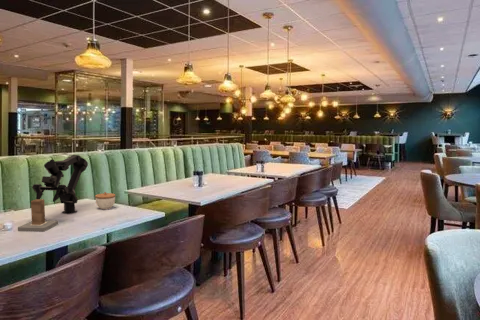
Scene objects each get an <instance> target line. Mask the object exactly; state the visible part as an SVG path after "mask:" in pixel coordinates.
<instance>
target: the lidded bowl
mask: <svg viewBox="0 0 480 320" xmlns="http://www.w3.org/2000/svg"><path fill="white" fill-rule="evenodd" d="M94 197H95V203H96V207H98V208H99V209H100V210H110V209H112V207H114V205H115V203H116V202H115V201H116V194H115V193H107V192H106V191H104V193H98V194H96V195H95V196H94Z"/></svg>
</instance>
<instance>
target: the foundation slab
mask: <svg viewBox="0 0 480 320" xmlns="http://www.w3.org/2000/svg"><path fill="white" fill-rule="evenodd" d="M57 225H59V220H46V219H45V223H43V224H41V225H32V220H30V221H28V222H26V223H24V224H22V225H20V226H18V227H17V232H39V233H41V232H46V231H48V230H50V229H52V228H54V227H56V226H57Z"/></svg>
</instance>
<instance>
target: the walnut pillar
mask: <svg viewBox="0 0 480 320" xmlns="http://www.w3.org/2000/svg"><path fill="white" fill-rule="evenodd" d="M30 207H31V208H30V210H31V221H32V225H41V224H43V223H45V220H46V212H45V211H46V210H45V208H46V207H45V199H43V198H42V199H41V198H40V199H34V200H31V201H30Z"/></svg>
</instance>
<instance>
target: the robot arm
mask: <svg viewBox="0 0 480 320" xmlns="http://www.w3.org/2000/svg"><path fill="white" fill-rule="evenodd" d="M70 166H72V167H73V172H72V174H71V176H70V177H69V178H70V179H69V181H68V183H67V185H66V184H61V182H60V181H61V179H62V178H64V177H65V175H64V173H63V172H66V171H68V169H70V168H69V167H70ZM88 166H89V162H88V161H87V160H86V159H85V158H84V157H81V155H79V154H71V155H70V156H69V157H67V158H65V159H63V160H57V161H56V160H54V159H50V160H49V161H48V160H47V162H45V163H44V165H43V167H44V168H45V170H46V171H47V172H48V174H49V175H50V176H42V177H41V183H43V185H44V186H43V185H42V184H41V183H38V184H37V183H34V184H33V185H32V186H31V188H32V190H33V191H34V193H36V199H41V198H42V197H43V195H44V192H45V191H50V192H51V191H53V192H54V191H55V194H54V196H53V198H52V202H53V203H55V202H56V201H57V200H58V199H59V202H60V204H63V211H61V213H62V214H63V213H64V214H67V215H69V214H74V213H77V212H78V210H76V205H75V204H77V203H78V201H79V200H78V198H77V196H76V195H77V194H76V191H75V190H76V188H77V185H78V183H79V180H80V178H81V175H82V173H84V171H86V170H87V168H88Z"/></svg>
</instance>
